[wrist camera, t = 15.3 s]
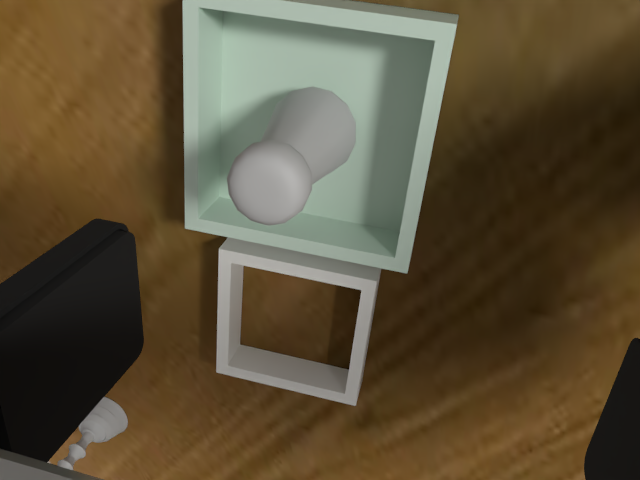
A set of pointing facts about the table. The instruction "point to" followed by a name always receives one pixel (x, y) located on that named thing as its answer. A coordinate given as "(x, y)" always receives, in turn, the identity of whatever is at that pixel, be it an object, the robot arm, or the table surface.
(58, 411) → the robot arm
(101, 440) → the chalice
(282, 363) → the grey square frame
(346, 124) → the salt shaker
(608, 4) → the table surface
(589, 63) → the table surface
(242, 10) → the green bin
